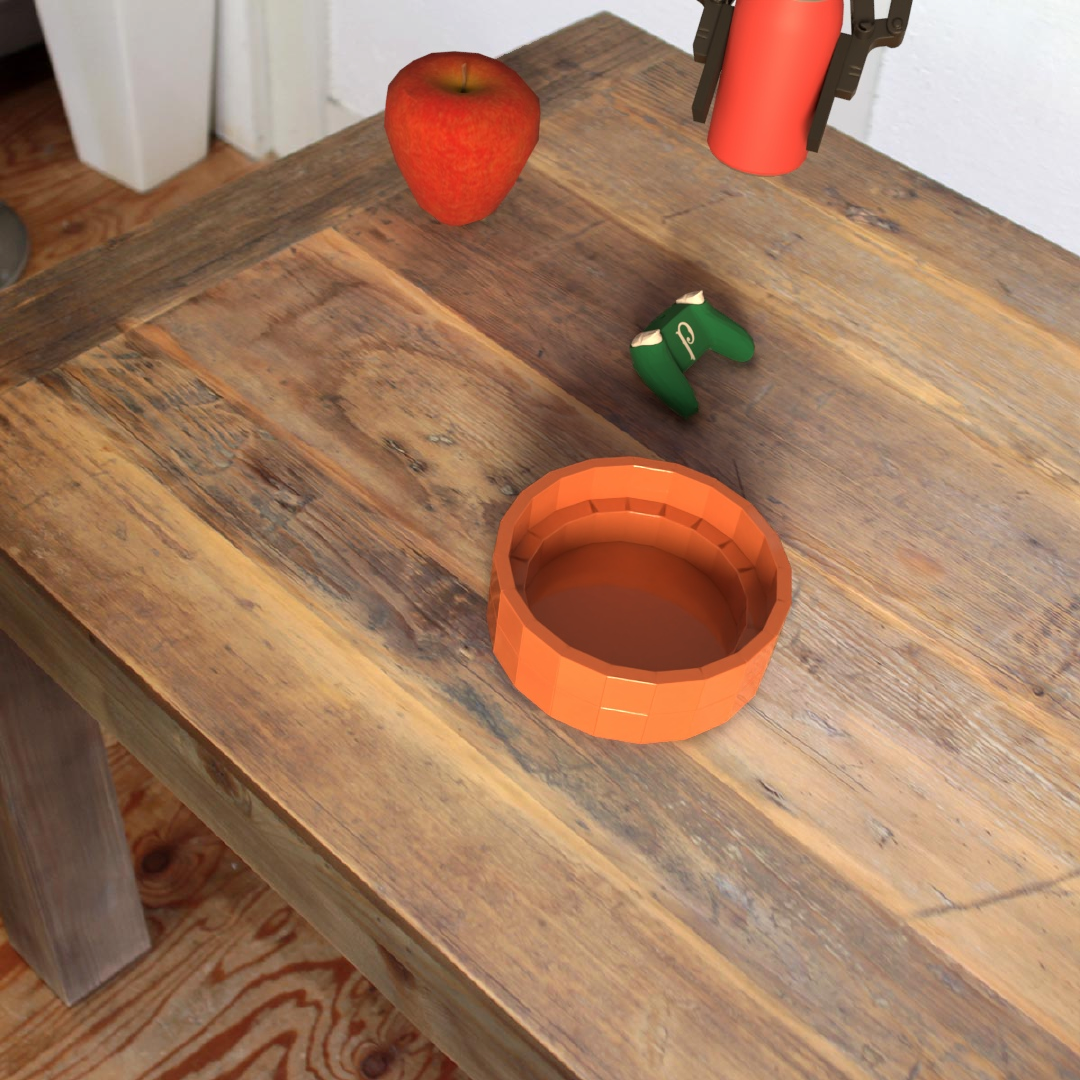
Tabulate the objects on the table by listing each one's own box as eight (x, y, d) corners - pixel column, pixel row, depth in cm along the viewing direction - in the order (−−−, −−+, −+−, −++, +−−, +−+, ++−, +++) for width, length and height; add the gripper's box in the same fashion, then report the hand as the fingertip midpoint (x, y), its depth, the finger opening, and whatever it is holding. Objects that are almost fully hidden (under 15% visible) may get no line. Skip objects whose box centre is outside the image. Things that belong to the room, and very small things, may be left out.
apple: (551, 244, 98) (571, 94, 89) (412, 268, 94) (417, 113, 85) (496, 162, 104) (509, 14, 95) (364, 181, 101) (364, 29, 92)
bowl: (768, 552, 79) (792, 481, 75) (763, 774, 69) (791, 707, 64) (508, 509, 79) (517, 436, 75) (465, 724, 69) (472, 654, 64)
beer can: (825, 167, 87) (877, -13, 78) (749, 192, 84) (793, 8, 75) (760, 118, 90) (802, -60, 82) (684, 141, 87) (720, -41, 79)
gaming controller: (722, 363, 93) (681, 289, 92) (764, 349, 90) (722, 272, 89) (653, 431, 88) (608, 354, 86) (695, 419, 85) (649, 339, 83)
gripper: (1016, -172, 83) (904, 186, 84) (715, -237, 86) (610, 110, 87) (1042, -241, 76) (919, 153, 77) (711, -310, 79) (597, 71, 80)
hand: (755, 129), depth 82 cm, fingers closed on beer can, 7 cm apart
